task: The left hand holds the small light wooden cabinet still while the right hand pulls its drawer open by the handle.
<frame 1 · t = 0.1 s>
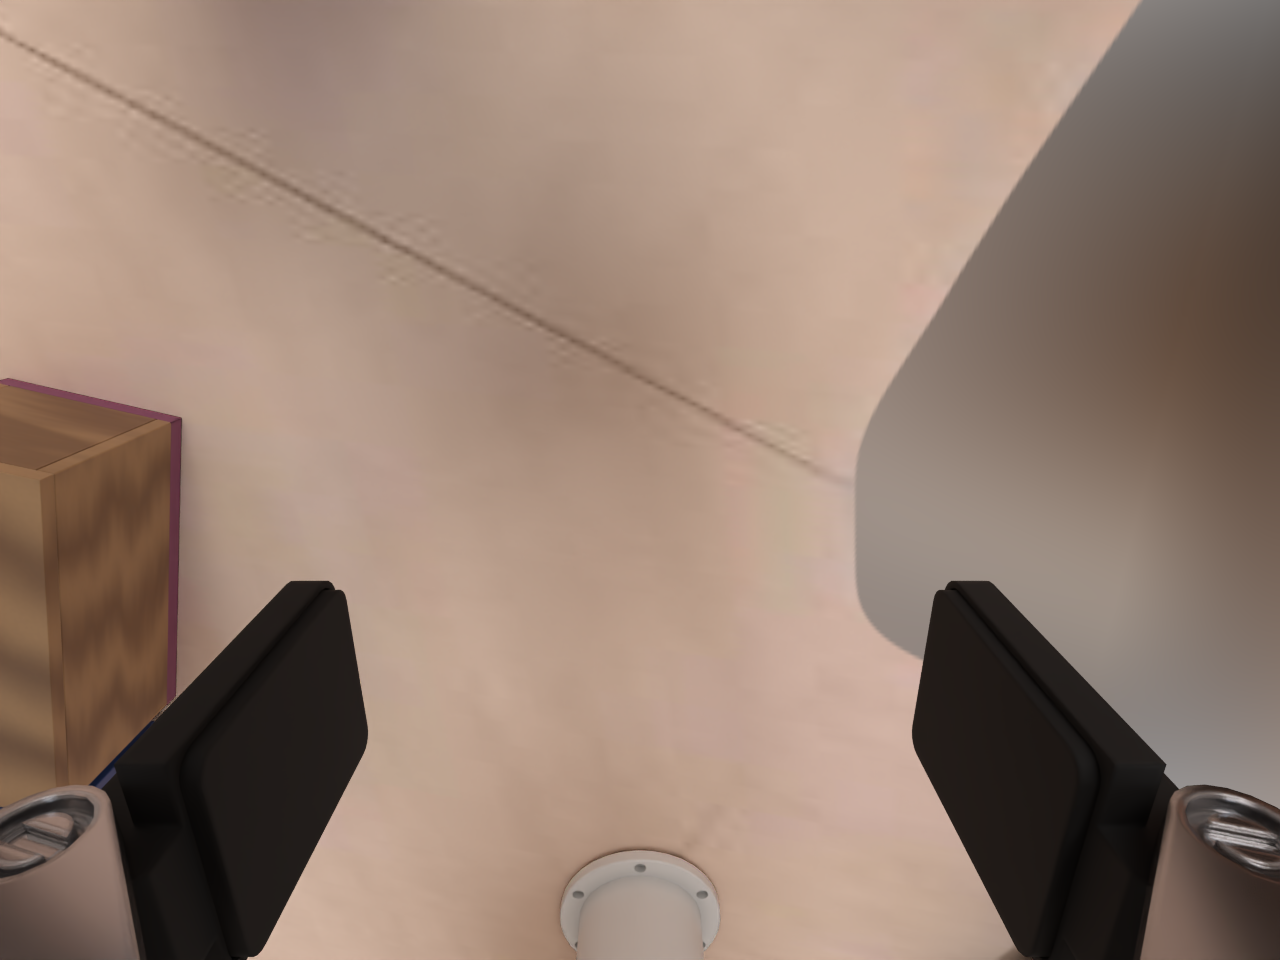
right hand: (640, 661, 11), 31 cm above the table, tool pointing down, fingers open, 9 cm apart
cabinet: (99, 551, 45), on the table
drawer: (38, 683, 42), point 5 cm above the table, slide at 1.6 cm
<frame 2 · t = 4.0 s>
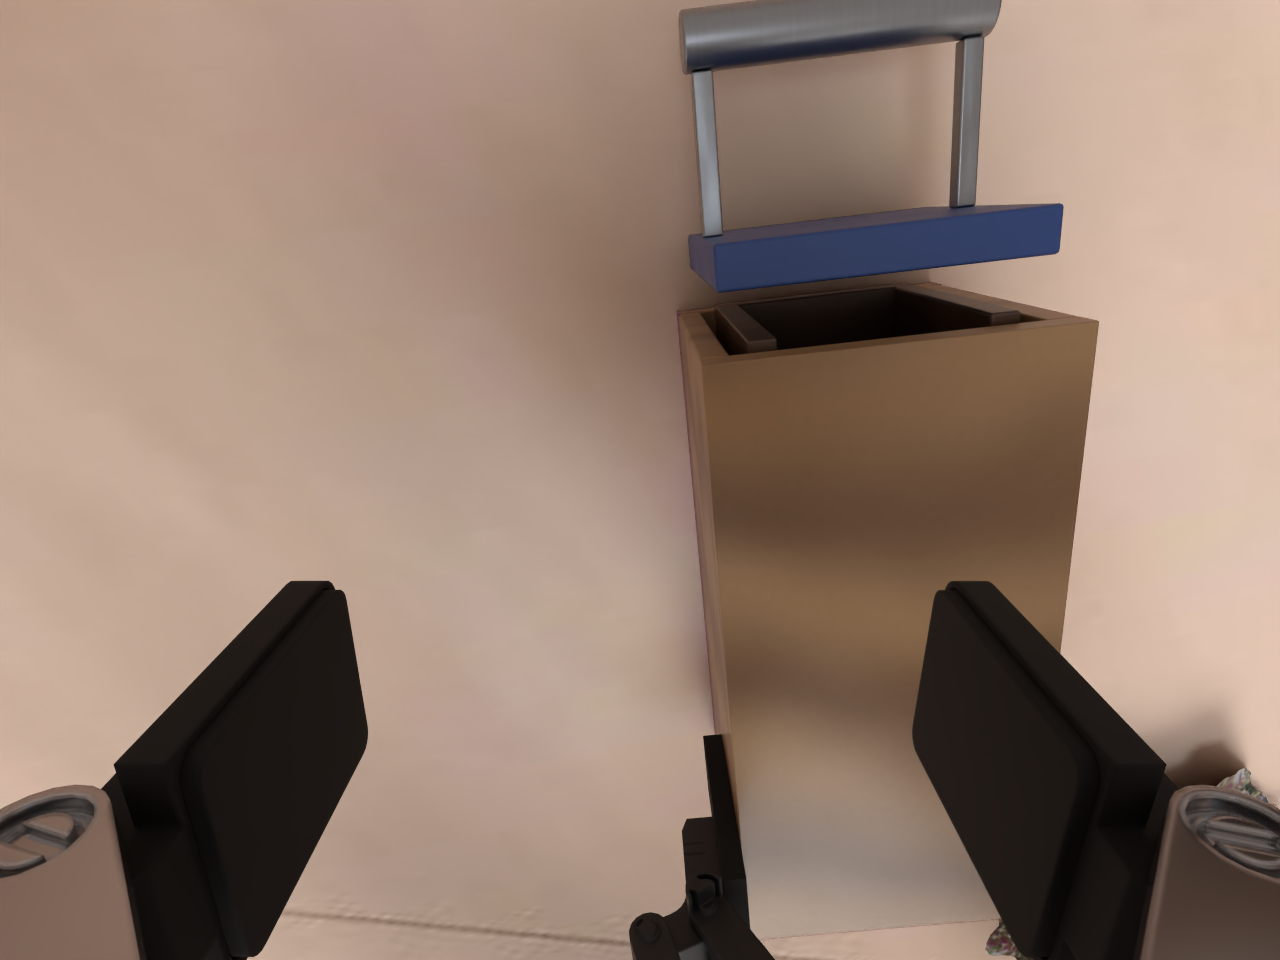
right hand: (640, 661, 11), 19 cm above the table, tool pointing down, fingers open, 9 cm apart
cabinet: (809, 536, 31), on the table, touching left hand
coral: (1114, 860, 38), on the table
drawer: (841, 432, 24), point 5 cm above the table, slide at 1.6 cm
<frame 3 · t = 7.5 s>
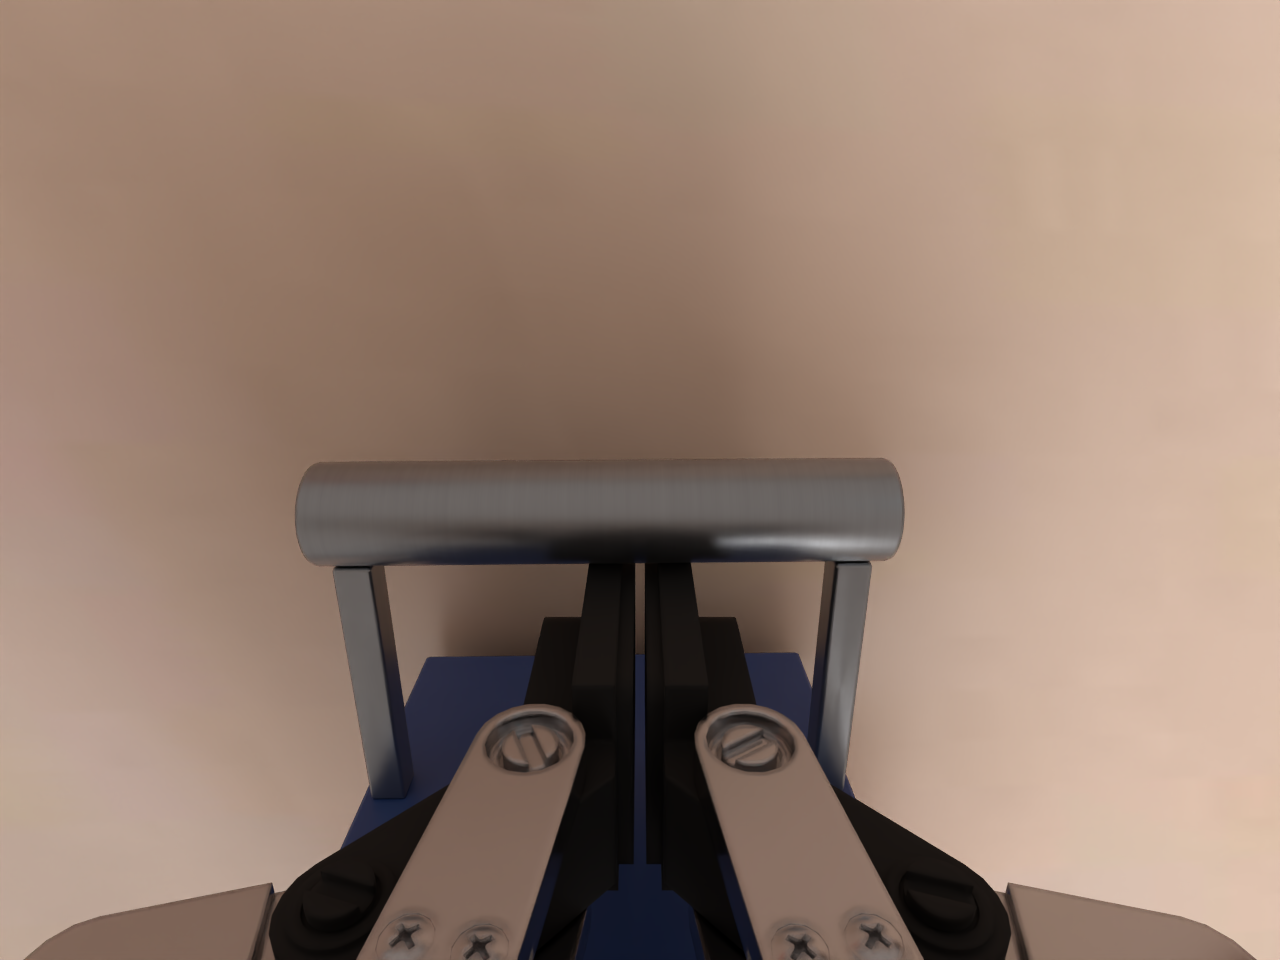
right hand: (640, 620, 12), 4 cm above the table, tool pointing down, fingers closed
when the left hand's fingers open (6 cm above the table, at t = 10.7 s): cabinet stays where it is, on the table.
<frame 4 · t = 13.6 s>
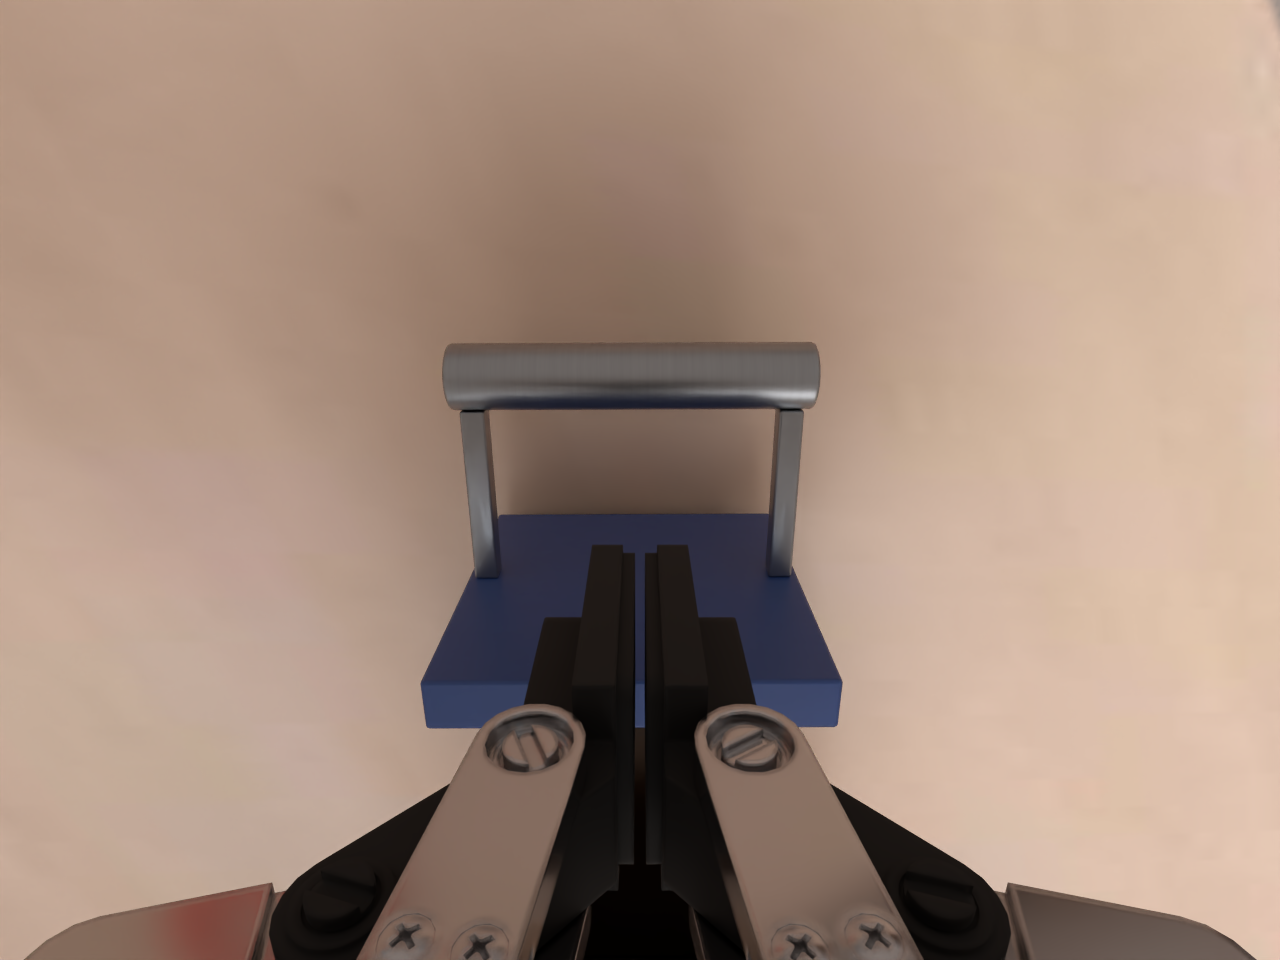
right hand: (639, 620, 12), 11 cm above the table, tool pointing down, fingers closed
drawer: (634, 780, 21), point 5 cm above the table, slide at 8.6 cm
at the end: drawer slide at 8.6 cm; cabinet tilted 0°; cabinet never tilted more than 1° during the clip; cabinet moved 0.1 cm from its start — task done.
